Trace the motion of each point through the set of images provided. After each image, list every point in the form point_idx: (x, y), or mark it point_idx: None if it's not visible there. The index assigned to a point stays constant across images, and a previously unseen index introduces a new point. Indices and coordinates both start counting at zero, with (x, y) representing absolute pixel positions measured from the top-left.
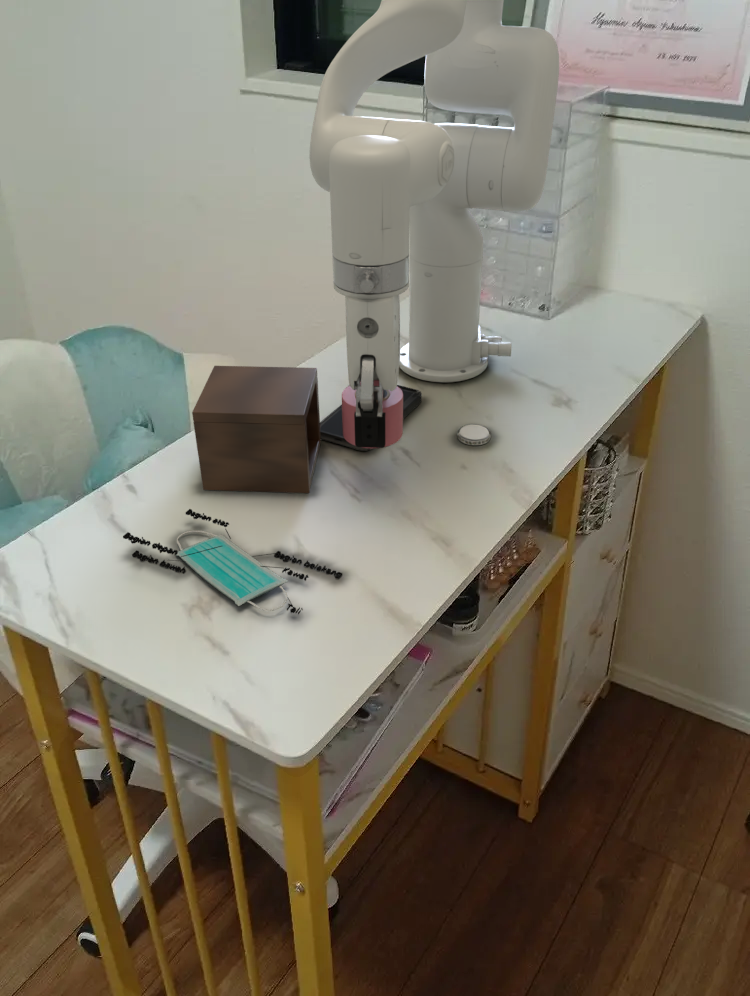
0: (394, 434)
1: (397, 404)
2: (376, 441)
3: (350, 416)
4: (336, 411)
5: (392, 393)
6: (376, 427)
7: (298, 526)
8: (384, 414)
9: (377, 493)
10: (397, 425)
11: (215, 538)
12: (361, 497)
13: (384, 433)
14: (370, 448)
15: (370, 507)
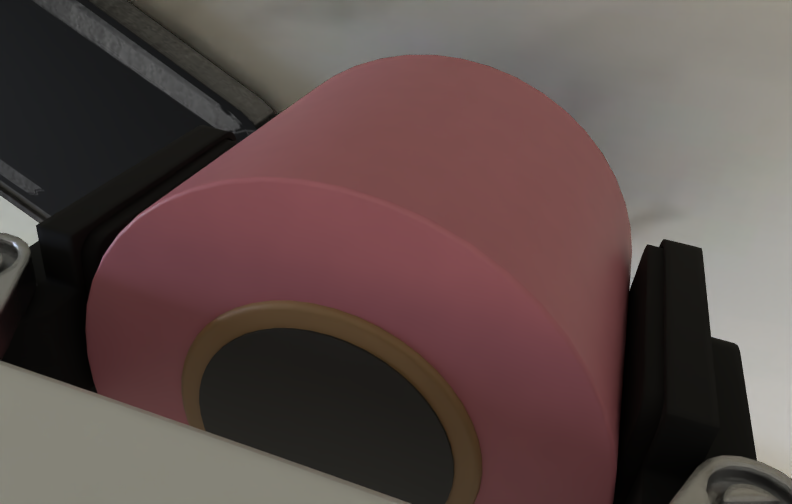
0: (587, 169)
1: (518, 270)
2: (738, 347)
3: None
4: (43, 214)
5: (307, 279)
6: (747, 430)
7: (783, 449)
8: (711, 432)
9: (622, 127)
10: (555, 167)
11: None
12: (638, 201)
13: (707, 309)
14: (268, 110)
15: (735, 176)
